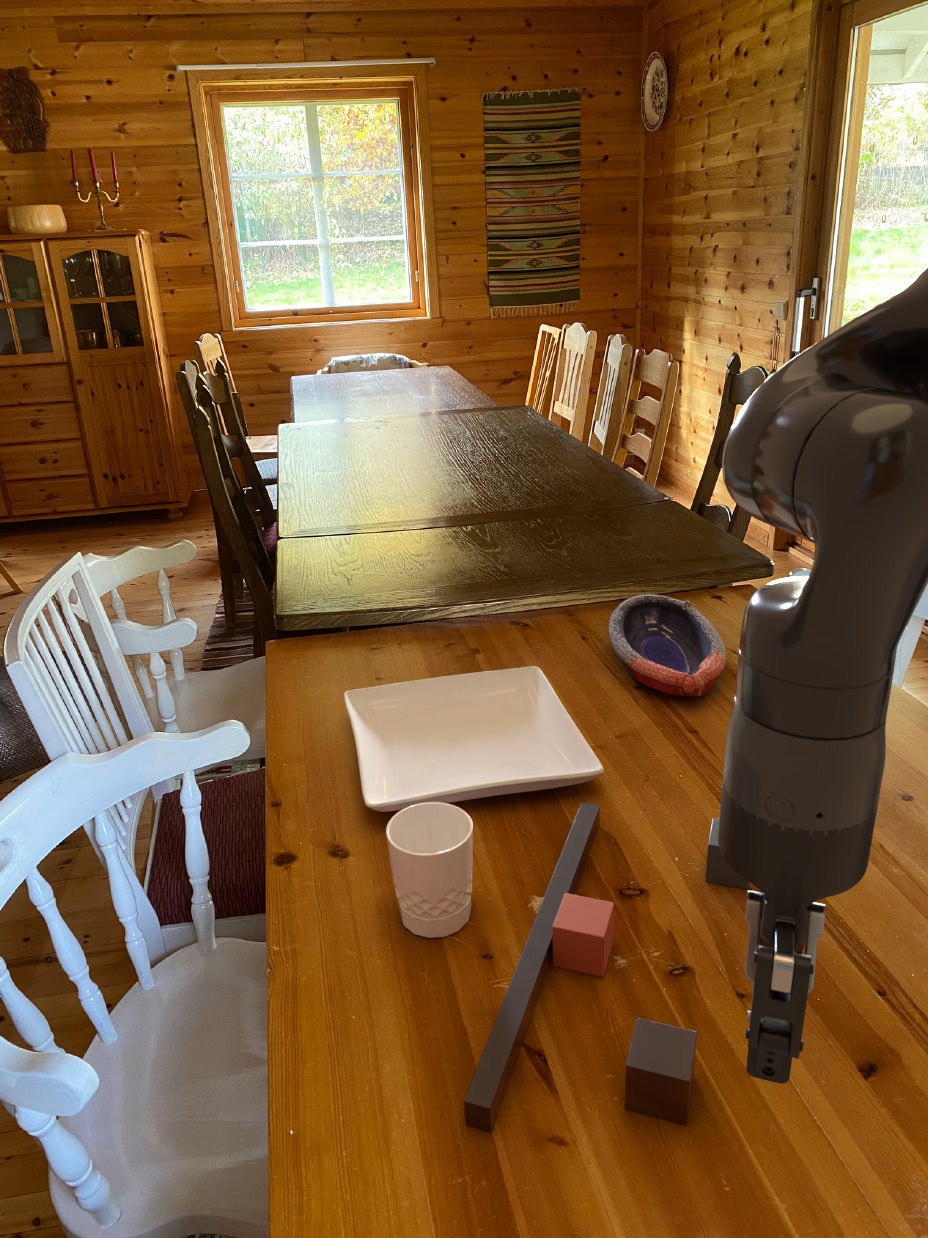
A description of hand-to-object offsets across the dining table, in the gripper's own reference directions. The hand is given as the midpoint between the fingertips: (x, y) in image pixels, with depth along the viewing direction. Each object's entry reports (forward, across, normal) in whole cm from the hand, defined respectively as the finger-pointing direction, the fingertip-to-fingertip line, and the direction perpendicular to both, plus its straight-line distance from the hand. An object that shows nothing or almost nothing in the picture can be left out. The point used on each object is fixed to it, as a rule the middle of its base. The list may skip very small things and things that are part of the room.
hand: (770, 1015), depth 53 cm
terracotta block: (+17, +19, +15) cm, 30 cm away
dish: (+18, +79, +17) cm, 83 cm away
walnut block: (+17, +7, +7) cm, 20 cm away
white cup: (+18, +20, +30) cm, 40 cm away
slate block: (+17, +34, +4) cm, 38 cm away
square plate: (+18, +48, +37) cm, 63 cm away
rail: (+17, +19, +19) cm, 32 cm away
